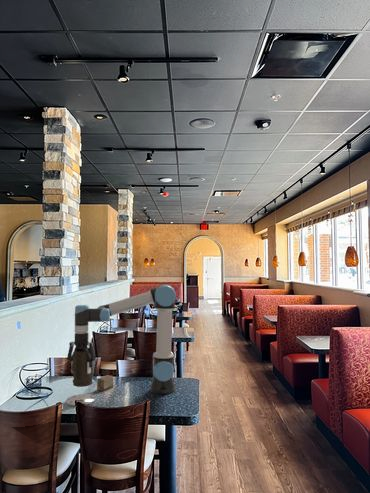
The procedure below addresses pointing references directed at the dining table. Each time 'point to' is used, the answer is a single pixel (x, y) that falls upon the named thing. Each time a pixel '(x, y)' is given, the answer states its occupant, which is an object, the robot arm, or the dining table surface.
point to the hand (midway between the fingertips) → (81, 372)
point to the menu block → (105, 383)
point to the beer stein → (81, 369)
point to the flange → (83, 397)
